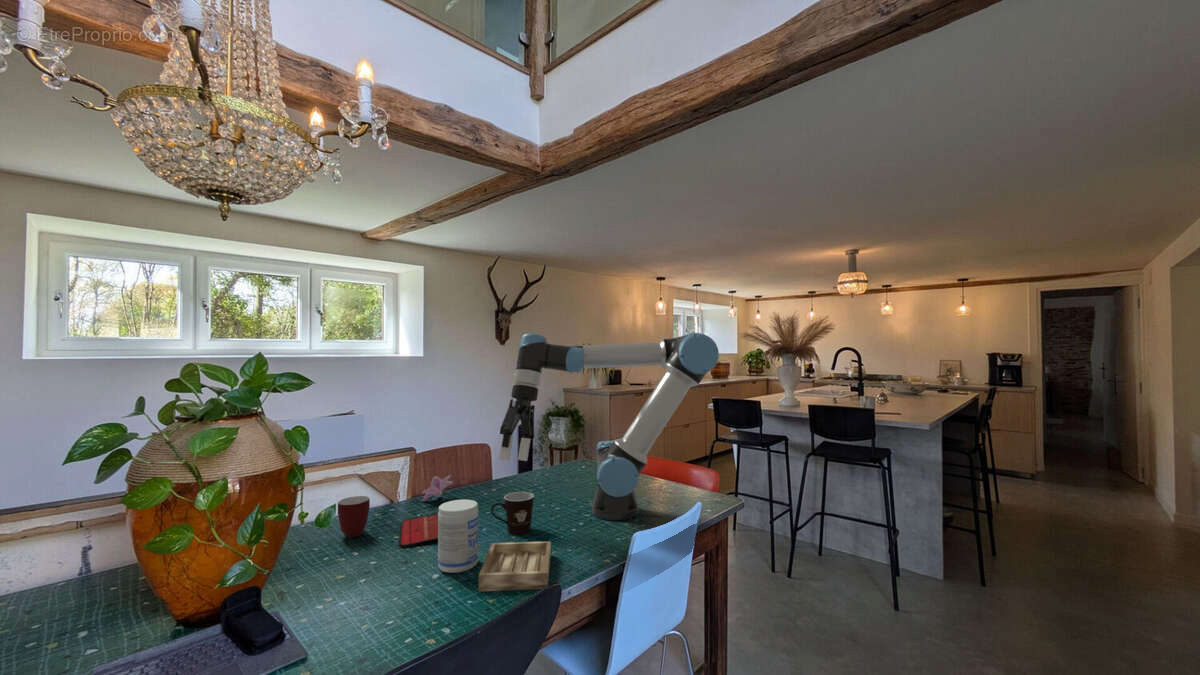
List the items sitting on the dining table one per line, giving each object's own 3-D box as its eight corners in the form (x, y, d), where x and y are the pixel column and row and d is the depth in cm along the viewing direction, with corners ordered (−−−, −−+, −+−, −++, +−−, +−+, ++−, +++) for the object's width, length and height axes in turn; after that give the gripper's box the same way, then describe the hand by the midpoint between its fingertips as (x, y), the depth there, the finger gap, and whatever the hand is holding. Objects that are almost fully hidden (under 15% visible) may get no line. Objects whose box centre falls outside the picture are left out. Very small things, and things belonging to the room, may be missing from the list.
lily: (458, 498, 169) (448, 474, 171) (462, 493, 159) (451, 468, 161) (425, 514, 163) (415, 489, 165) (428, 511, 153) (417, 484, 155)
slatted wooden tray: (550, 555, 119) (550, 541, 119) (547, 589, 102) (547, 572, 102) (492, 556, 118) (492, 543, 118) (478, 591, 101) (478, 575, 101)
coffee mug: (537, 525, 139) (537, 492, 139) (529, 537, 130) (529, 501, 131) (499, 524, 140) (499, 491, 140) (489, 535, 131) (489, 500, 132)
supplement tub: (477, 572, 110) (477, 509, 110) (435, 576, 108) (435, 513, 108) (478, 554, 119) (478, 497, 120) (440, 558, 117) (440, 500, 118)
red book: (454, 509, 148) (460, 533, 129) (454, 516, 148) (460, 541, 129) (400, 518, 142) (397, 545, 123) (400, 526, 142) (398, 554, 123)
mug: (339, 530, 136) (339, 496, 137) (369, 525, 140) (369, 492, 140) (336, 543, 127) (336, 506, 127) (369, 538, 130) (369, 502, 131)
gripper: (528, 391, 148) (517, 458, 143) (496, 377, 125) (482, 457, 120) (550, 393, 147) (540, 462, 142) (522, 379, 123) (508, 461, 118)
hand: (513, 460), depth 131 cm, fingers open, 13 cm apart
